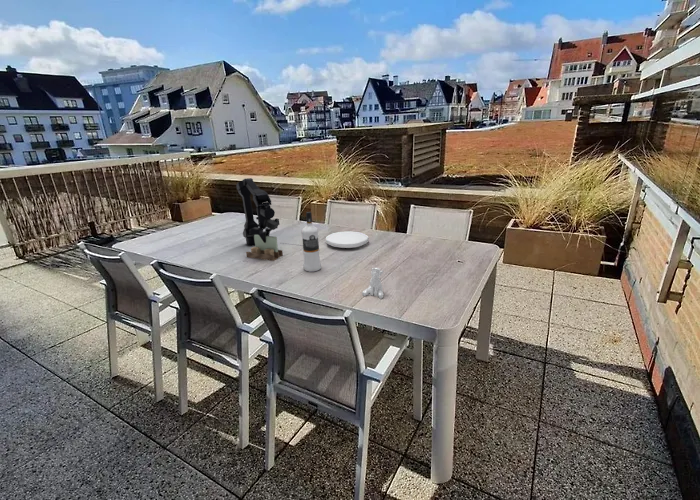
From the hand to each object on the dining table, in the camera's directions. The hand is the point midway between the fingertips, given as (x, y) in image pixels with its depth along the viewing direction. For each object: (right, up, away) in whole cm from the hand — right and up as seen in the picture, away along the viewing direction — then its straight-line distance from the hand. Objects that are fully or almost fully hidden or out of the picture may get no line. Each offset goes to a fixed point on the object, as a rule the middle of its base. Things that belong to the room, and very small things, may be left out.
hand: (265, 242), depth 196 cm
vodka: (+28, -14, -16) cm, 35 cm away
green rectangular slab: (0, -7, +3) cm, 8 cm away
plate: (+46, -1, +21) cm, 50 cm away
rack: (-1, -9, +1) cm, 9 cm away
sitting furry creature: (+58, -24, -43) cm, 76 cm away
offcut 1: (-6, -8, +1) cm, 10 cm away
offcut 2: (+3, -9, -3) cm, 10 cm away
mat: (+10, -3, +16) cm, 19 cm away
